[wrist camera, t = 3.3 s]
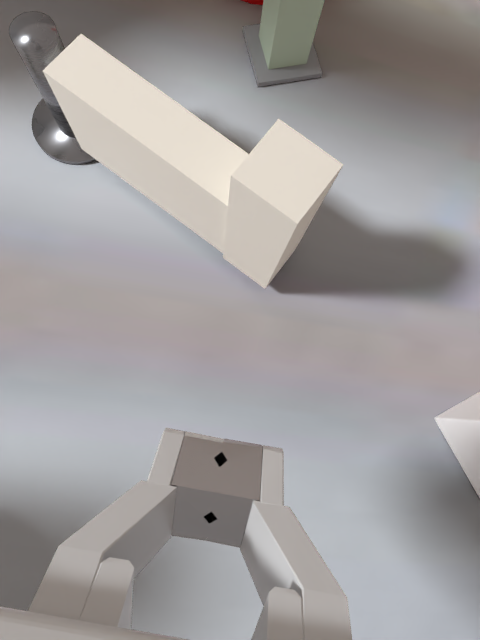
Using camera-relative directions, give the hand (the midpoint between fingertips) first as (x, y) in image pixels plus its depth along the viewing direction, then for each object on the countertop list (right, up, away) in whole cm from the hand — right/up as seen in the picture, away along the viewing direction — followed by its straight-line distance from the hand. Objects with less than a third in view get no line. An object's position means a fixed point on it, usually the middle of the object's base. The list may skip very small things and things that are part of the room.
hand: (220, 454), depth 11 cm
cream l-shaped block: (-3, +12, +18) cm, 22 cm away
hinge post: (-11, +17, +20) cm, 28 cm away
